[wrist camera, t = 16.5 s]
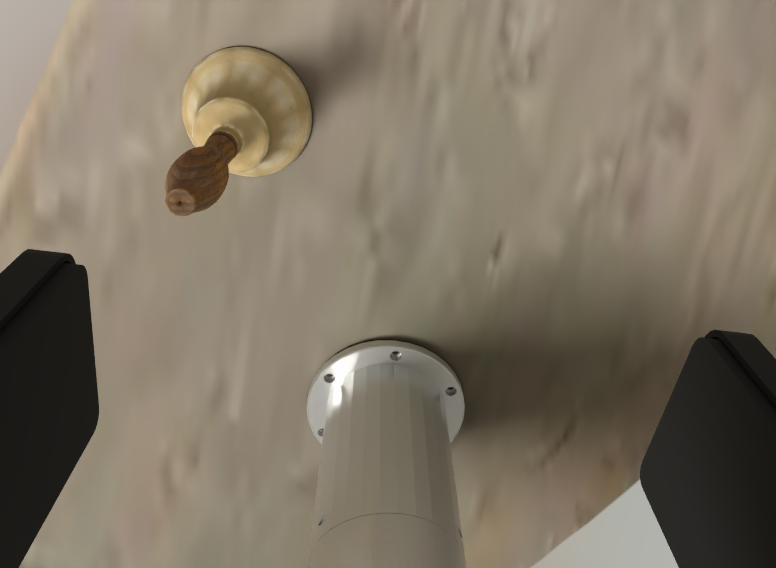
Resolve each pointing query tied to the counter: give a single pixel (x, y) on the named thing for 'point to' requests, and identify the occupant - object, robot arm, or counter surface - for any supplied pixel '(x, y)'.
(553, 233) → the counter surface
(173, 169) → the hand bell
